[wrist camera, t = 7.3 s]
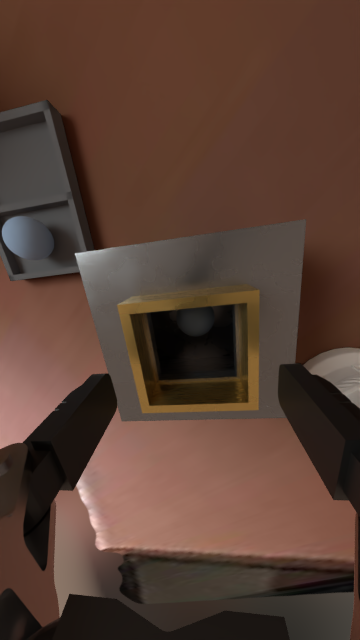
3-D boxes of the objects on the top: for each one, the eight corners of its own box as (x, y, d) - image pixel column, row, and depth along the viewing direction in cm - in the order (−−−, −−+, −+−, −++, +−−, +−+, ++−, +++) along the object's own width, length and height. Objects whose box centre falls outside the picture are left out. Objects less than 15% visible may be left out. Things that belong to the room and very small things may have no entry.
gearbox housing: (256, 238, 19) (337, 207, 8) (255, 379, 24) (304, 478, 13) (126, 256, 20) (45, 251, 10) (151, 383, 25) (118, 475, 15)
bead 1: (56, 218, 19) (21, 207, 15) (67, 257, 20) (38, 257, 17) (22, 224, 20) (-19, 215, 16) (36, 262, 21) (0, 262, 17)
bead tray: (60, 114, 17) (47, 99, 15) (99, 269, 21) (91, 270, 20) (-31, 137, 18) (-52, 126, 17) (23, 279, 22) (10, 280, 21)
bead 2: (216, 293, 19) (208, 303, 16) (218, 327, 21) (212, 344, 17) (181, 295, 21) (167, 304, 17) (185, 327, 22) (173, 342, 19)
